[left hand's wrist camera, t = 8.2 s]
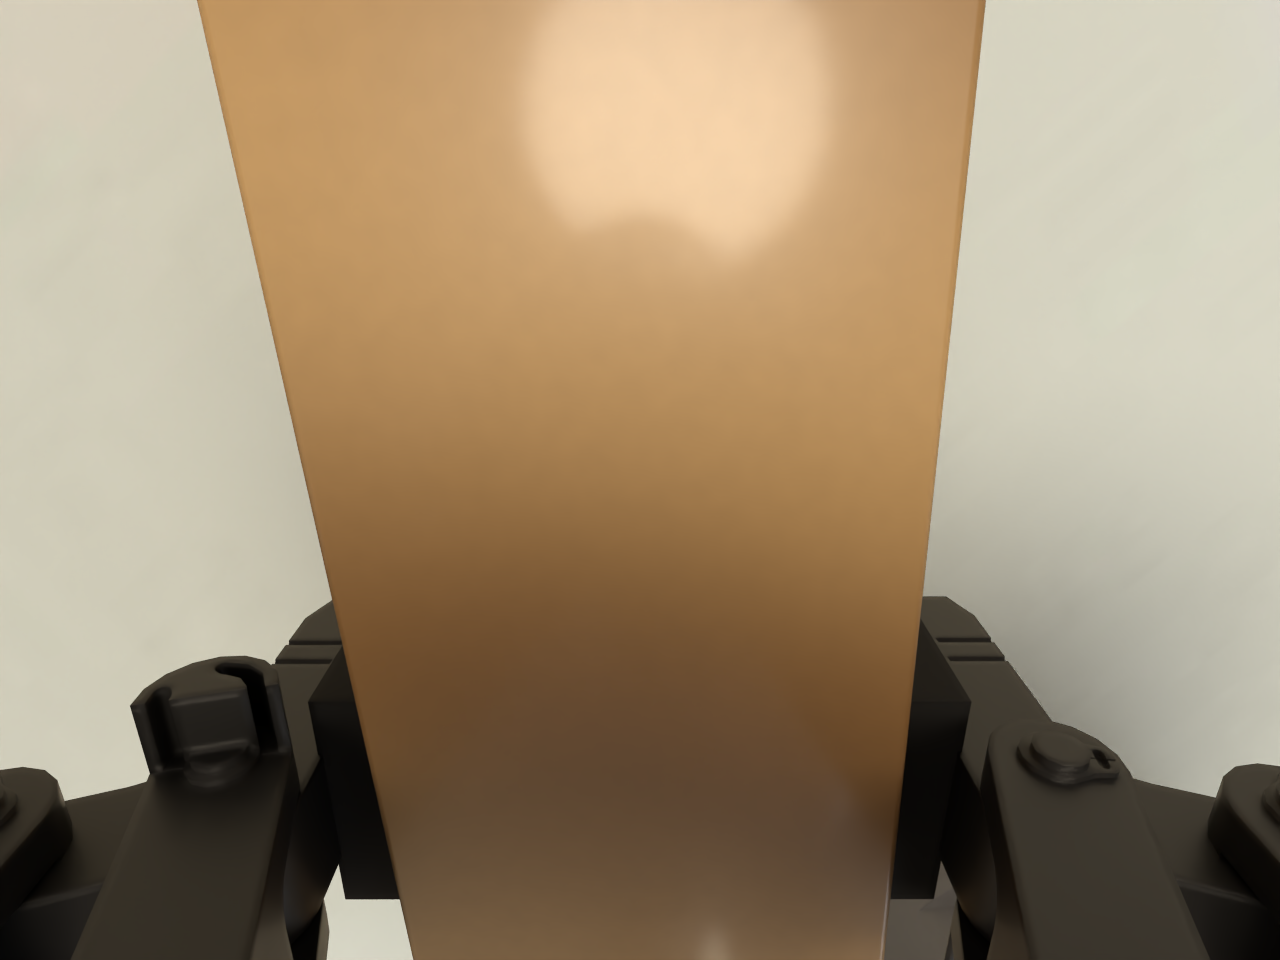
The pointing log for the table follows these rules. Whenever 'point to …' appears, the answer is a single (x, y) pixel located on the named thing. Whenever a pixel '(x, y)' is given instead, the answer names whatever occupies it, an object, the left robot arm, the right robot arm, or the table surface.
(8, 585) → the table surface
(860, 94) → the bar
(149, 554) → the table surface
